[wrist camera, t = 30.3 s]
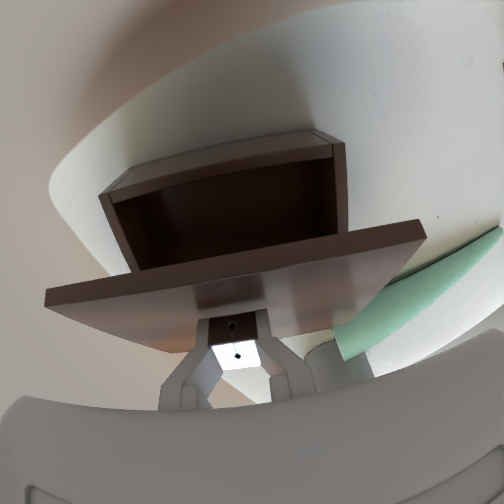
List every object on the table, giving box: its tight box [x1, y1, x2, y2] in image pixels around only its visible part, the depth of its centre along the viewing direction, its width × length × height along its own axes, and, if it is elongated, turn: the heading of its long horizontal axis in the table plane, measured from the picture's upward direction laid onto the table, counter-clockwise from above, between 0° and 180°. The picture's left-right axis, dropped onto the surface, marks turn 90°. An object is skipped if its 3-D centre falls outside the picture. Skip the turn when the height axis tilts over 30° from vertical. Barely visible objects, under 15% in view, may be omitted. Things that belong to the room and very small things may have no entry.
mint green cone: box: [332, 227, 503, 362], centre depth 25 cm, size 5×6×27 cm
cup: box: [304, 339, 375, 393], centre depth 30 cm, size 8×8×10 cm
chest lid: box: [44, 219, 427, 353], centre depth 15 cm, size 14×15×1 cm
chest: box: [98, 129, 348, 272], centre depth 20 cm, size 14×15×6 cm
